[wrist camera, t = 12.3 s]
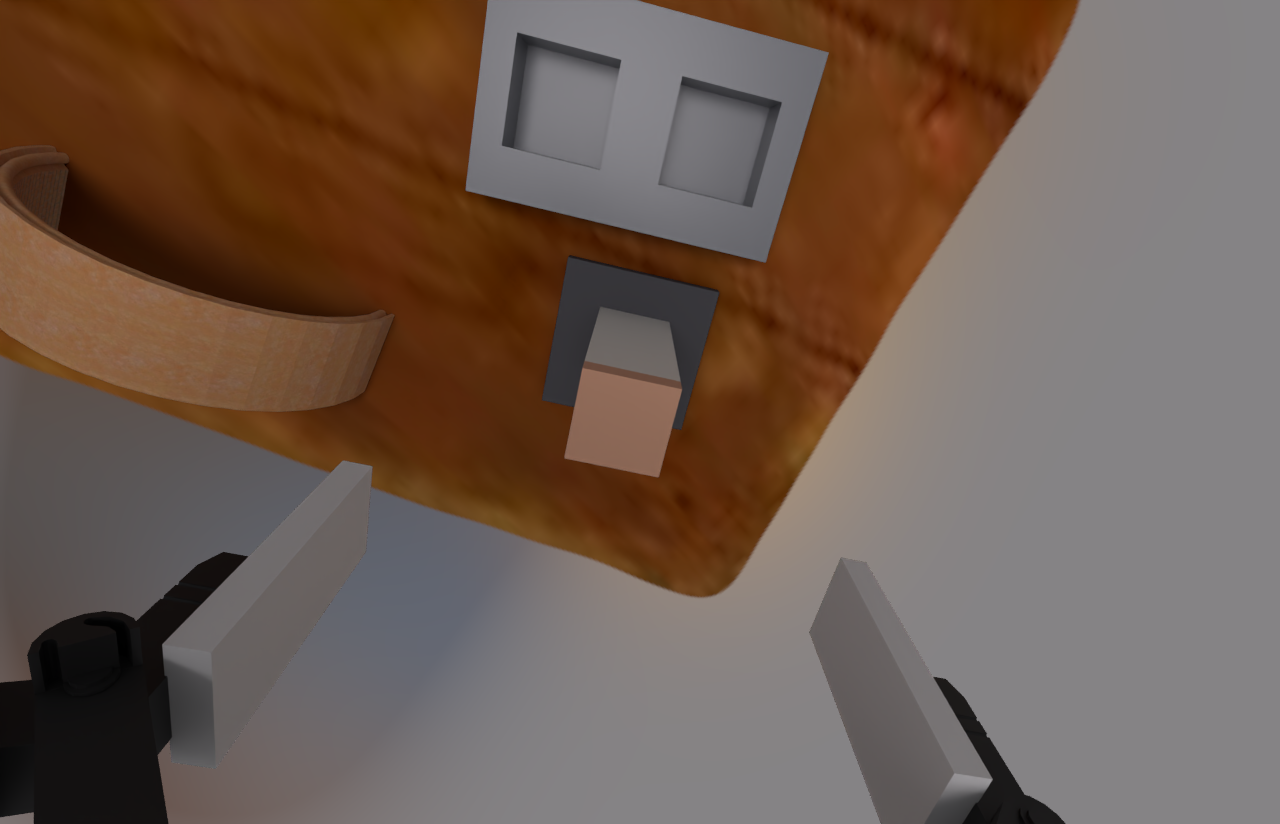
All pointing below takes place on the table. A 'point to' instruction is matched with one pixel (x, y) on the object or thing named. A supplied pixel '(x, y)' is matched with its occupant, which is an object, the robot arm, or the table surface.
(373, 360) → the arch
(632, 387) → the plug
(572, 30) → the grey boxy piece
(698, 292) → the mat
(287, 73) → the table surface
